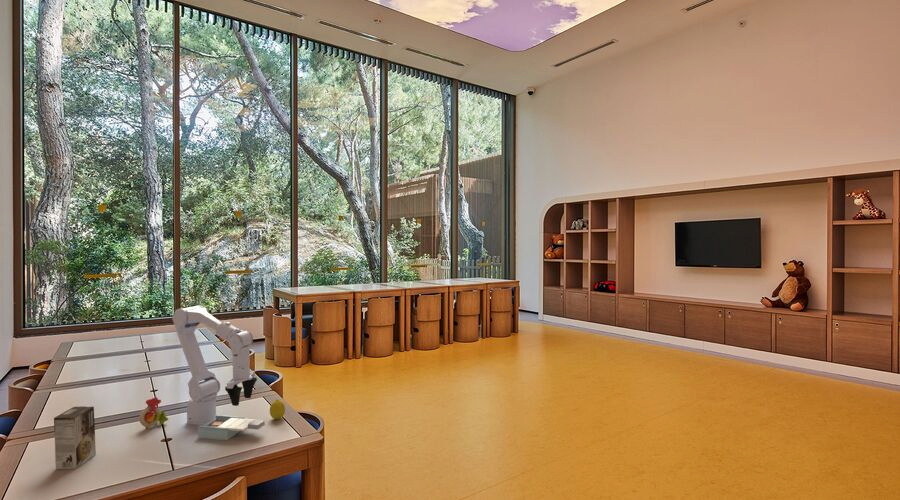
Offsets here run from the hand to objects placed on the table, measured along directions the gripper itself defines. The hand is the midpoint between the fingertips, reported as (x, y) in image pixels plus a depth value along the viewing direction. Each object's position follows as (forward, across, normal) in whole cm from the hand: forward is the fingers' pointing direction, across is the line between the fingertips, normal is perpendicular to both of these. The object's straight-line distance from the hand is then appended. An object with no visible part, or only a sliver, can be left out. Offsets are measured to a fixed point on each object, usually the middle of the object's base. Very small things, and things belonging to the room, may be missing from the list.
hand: (241, 401), depth 174 cm
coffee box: (+10, -32, +36) cm, 49 cm away
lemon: (+10, +9, -9) cm, 16 cm away
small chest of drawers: (+6, -6, -4) cm, 10 cm away
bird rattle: (+10, -4, +33) cm, 35 cm away
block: (+9, -4, +7) cm, 12 cm away
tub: (+10, -6, +4) cm, 12 cm away
